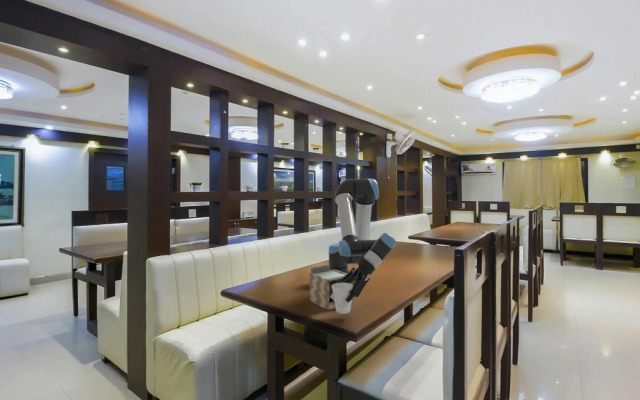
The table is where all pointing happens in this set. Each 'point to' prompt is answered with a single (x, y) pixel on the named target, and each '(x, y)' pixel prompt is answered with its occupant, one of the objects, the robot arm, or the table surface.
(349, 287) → the cup
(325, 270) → the flap
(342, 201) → the robot arm
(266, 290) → the table surface
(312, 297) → the stand
